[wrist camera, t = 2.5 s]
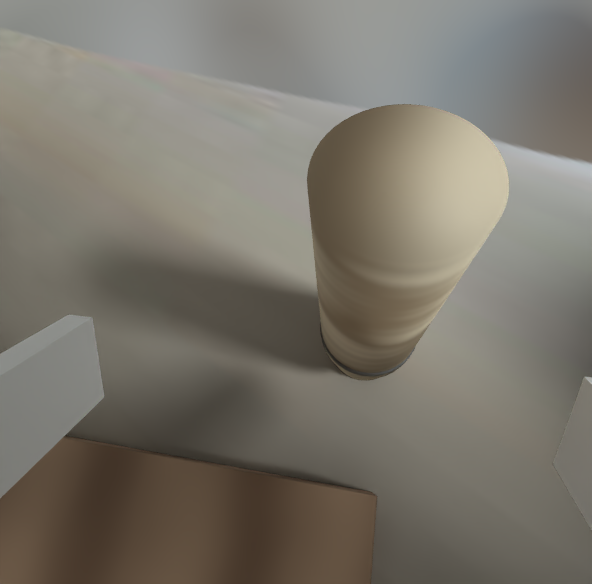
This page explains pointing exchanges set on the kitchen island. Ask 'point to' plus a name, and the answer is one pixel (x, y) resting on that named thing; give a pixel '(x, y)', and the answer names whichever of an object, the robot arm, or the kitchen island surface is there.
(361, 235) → the beech peg
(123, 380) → the kitchen island surface
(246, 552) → the walnut board
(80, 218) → the kitchen island surface
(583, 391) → the robot arm
